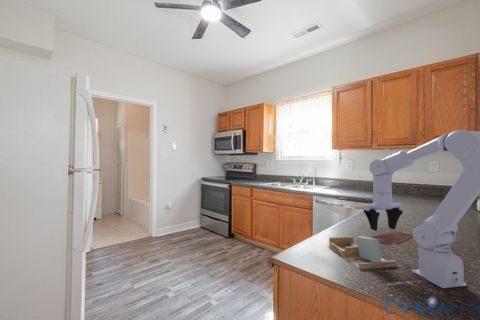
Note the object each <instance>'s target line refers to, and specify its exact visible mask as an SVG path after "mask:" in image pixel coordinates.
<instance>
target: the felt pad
mask: <svg viewBox="0 0 480 320" xmlns="http://www.w3.org/2000/svg"><path fill="white" fill-rule="evenodd" d="M354 260H355V261H357V262H358V263H366V262H373V261H370V260H367V259H363V258H355V259H354Z"/></svg>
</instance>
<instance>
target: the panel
mask: <svg viewBox="0 0 480 320" xmlns="http://www.w3.org/2000/svg"><path fill="white" fill-rule="evenodd" d="M356 243H357V245H358V252H359V257H360V258H363V259H367V260H370V261H373V262H382V261H381V258H382V255H381V250H380V245H379V244H380V243H379V242H378V239H374V238H369V237H367V236H361V235H360V236H359V235H358V236H356Z"/></svg>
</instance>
